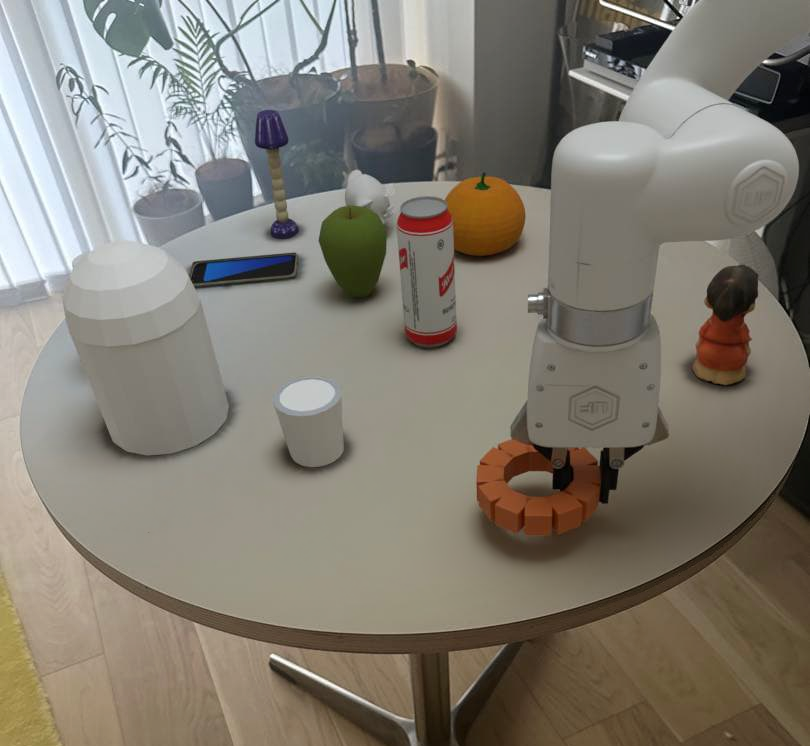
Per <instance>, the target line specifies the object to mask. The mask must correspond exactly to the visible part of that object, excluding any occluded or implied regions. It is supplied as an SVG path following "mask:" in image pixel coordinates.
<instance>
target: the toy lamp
mask: <svg viewBox="0 0 810 746" xmlns="http://www.w3.org/2000/svg"><path fill="white" fill-rule="evenodd" d="M284 125H285V124H284V122H283V120H282V117H281V115H280V113H279V112H278V110H275V109H264V110H261V111H259V112H257V114H256V121H255V133H254V145H255V146H256V147H257V148H259V149H262V150H265V151H266V154H267V163H268V166H269V175H270V178H271V180H270V183H271V188H272V196H273V199H274V208H275V210H276V211H275V216H276V217H275V218H276V220H275V221H274V222H273V223H271V226H270V230H269V231H270V236H272V237H273V238H276V239H287V238H291V237H294V236H296V235H298V233H299V232H300V227H299V226H298V224H297V223H296V221H295V220H293V219H292V218H289V212H288V210H287V209H288V204H287V200H286V197H287V196H286V190H285V187H284V186H285V181H284V178H283V169H282V166H281V164H282V161H281V157H280V149H281V148H283V147H285V146H287V145H288V143H289V135H288V133H287V130H286V128H285V126H284Z"/></svg>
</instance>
